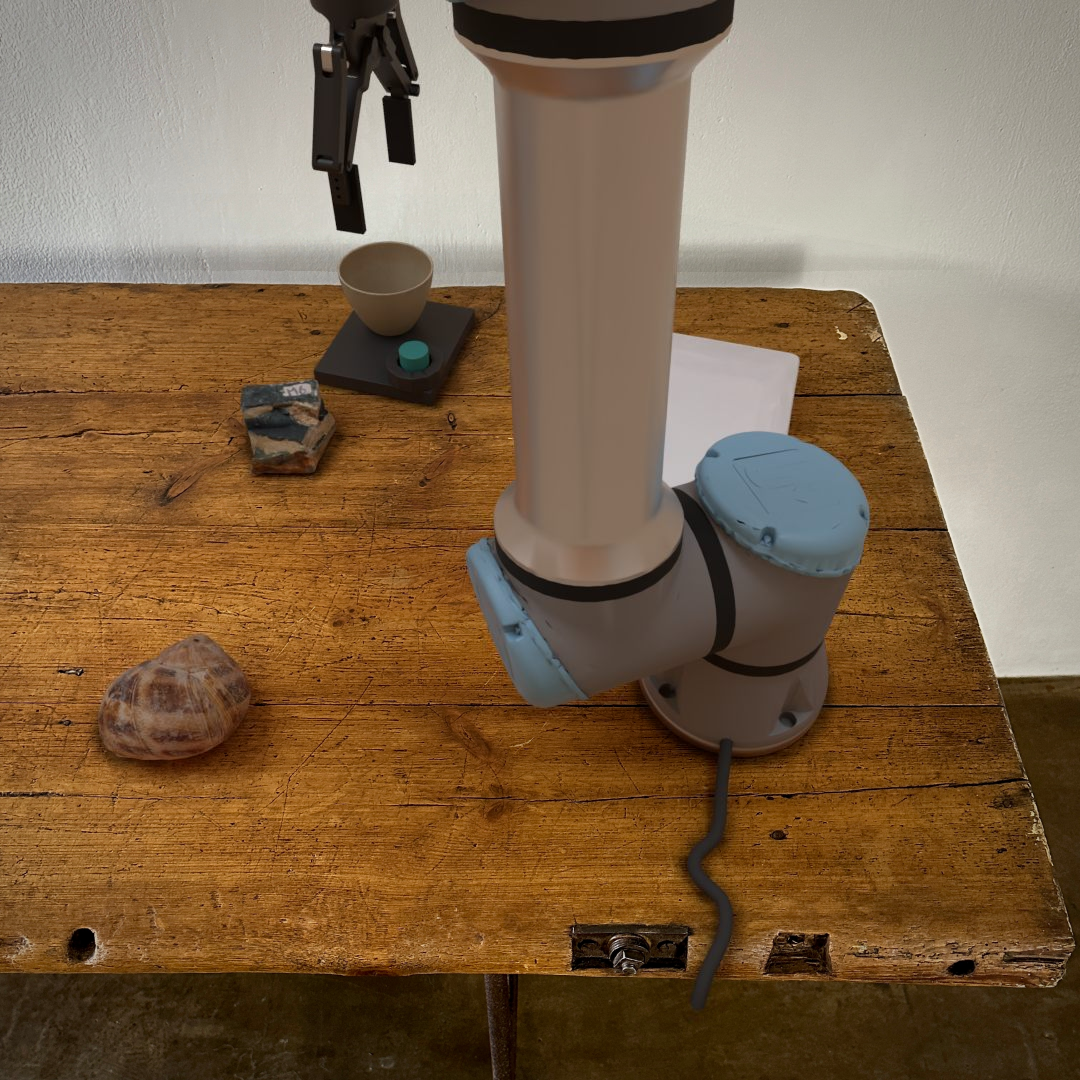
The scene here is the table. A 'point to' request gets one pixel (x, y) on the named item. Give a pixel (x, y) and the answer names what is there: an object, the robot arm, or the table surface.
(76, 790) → the table surface
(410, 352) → the button
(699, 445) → the tray
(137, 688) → the seashell
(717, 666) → the robot arm
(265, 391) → the rock
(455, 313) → the black button board
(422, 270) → the beige bowl
